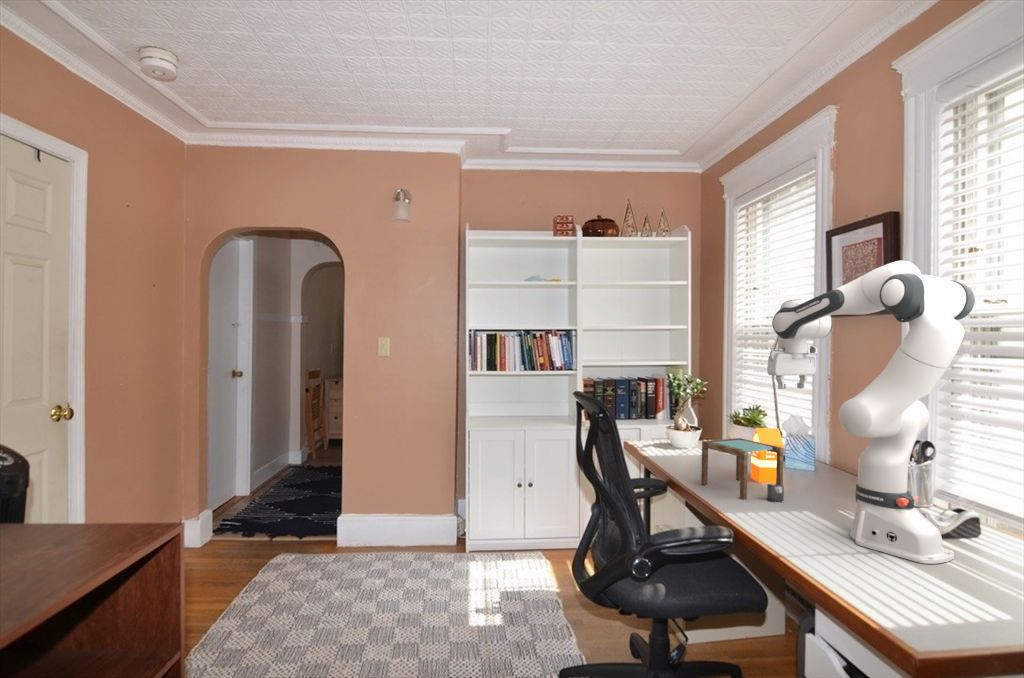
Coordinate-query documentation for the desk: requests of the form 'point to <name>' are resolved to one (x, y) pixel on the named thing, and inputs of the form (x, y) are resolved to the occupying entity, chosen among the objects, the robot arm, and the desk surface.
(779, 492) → the iron weight
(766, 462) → the orange juice
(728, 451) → the teal-topped side table
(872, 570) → the desk surface
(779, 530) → the desk surface
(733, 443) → the trapdoor
